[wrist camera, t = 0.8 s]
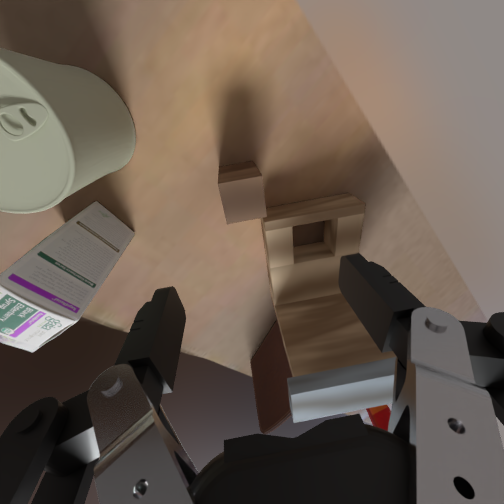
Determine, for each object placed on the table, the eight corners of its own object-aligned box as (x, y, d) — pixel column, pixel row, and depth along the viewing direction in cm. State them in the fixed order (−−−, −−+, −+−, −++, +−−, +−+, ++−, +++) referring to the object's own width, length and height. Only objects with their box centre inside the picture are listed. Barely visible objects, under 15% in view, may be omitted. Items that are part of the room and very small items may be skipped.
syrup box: (96, 198, 26) (-17, 277, 14) (138, 233, 29) (76, 324, 16) (66, 226, 27) (-61, 320, 15) (109, 256, 30) (32, 356, 18)
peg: (218, 166, 25) (217, 183, 19) (252, 160, 25) (262, 176, 20) (226, 199, 28) (227, 224, 22) (257, 194, 28) (266, 216, 22)
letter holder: (249, 360, 48) (258, 443, 36) (290, 295, 38) (320, 378, 26) (290, 365, 50) (310, 443, 39) (336, 305, 41) (383, 384, 29)
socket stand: (252, 210, 29) (283, 315, 14) (356, 191, 29) (494, 274, 14) (266, 303, 38) (293, 423, 24) (344, 288, 38) (419, 397, 24)
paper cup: (375, 405, 68) (406, 466, 57) (354, 405, 66) (383, 468, 55) (390, 393, 65) (428, 455, 53) (369, 392, 63) (403, 457, 51)
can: (154, 155, 24) (105, 188, 14) (80, 185, 25) (-17, 237, 15) (93, 47, 19) (-51, -25, 9) (3, 89, 20) (-224, 66, 10)
